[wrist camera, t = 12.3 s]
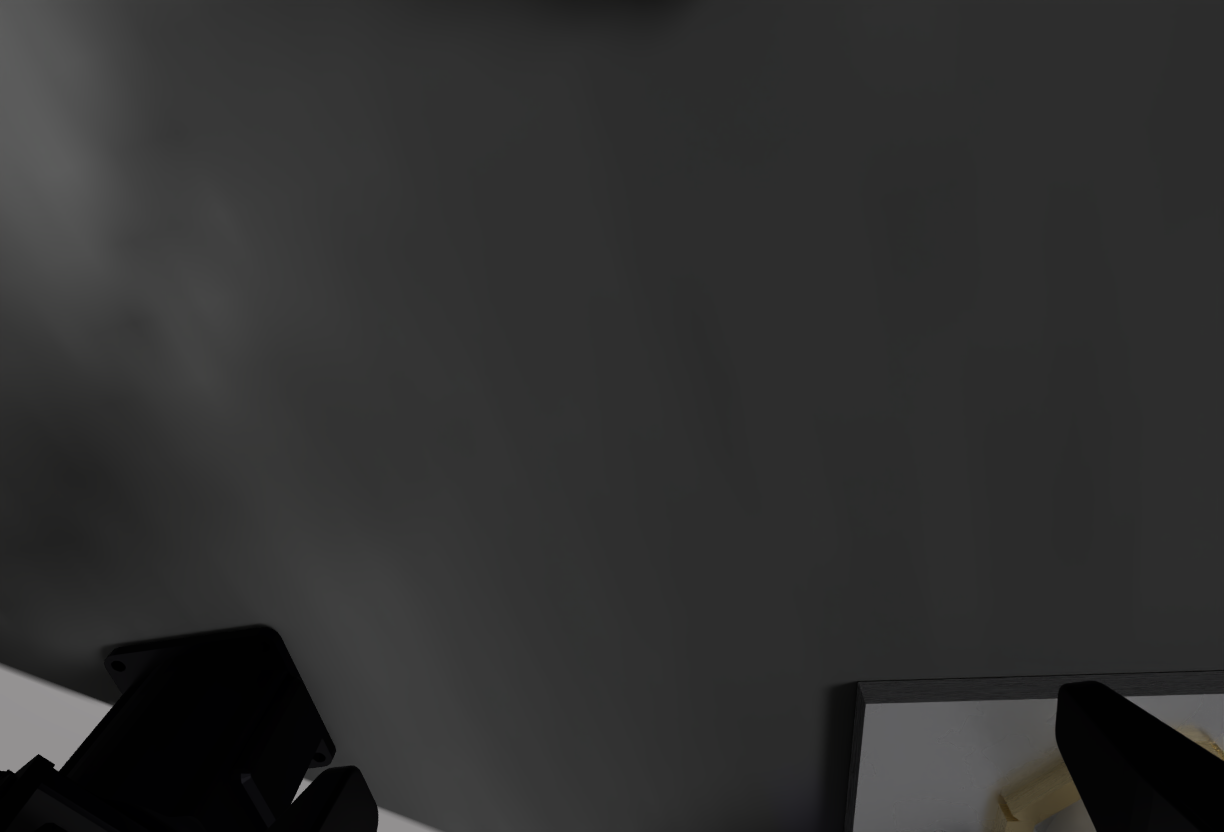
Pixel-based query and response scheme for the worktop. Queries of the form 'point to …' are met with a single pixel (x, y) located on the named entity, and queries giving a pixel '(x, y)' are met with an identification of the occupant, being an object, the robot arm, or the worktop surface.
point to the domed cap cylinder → (1072, 819)
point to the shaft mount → (992, 747)
